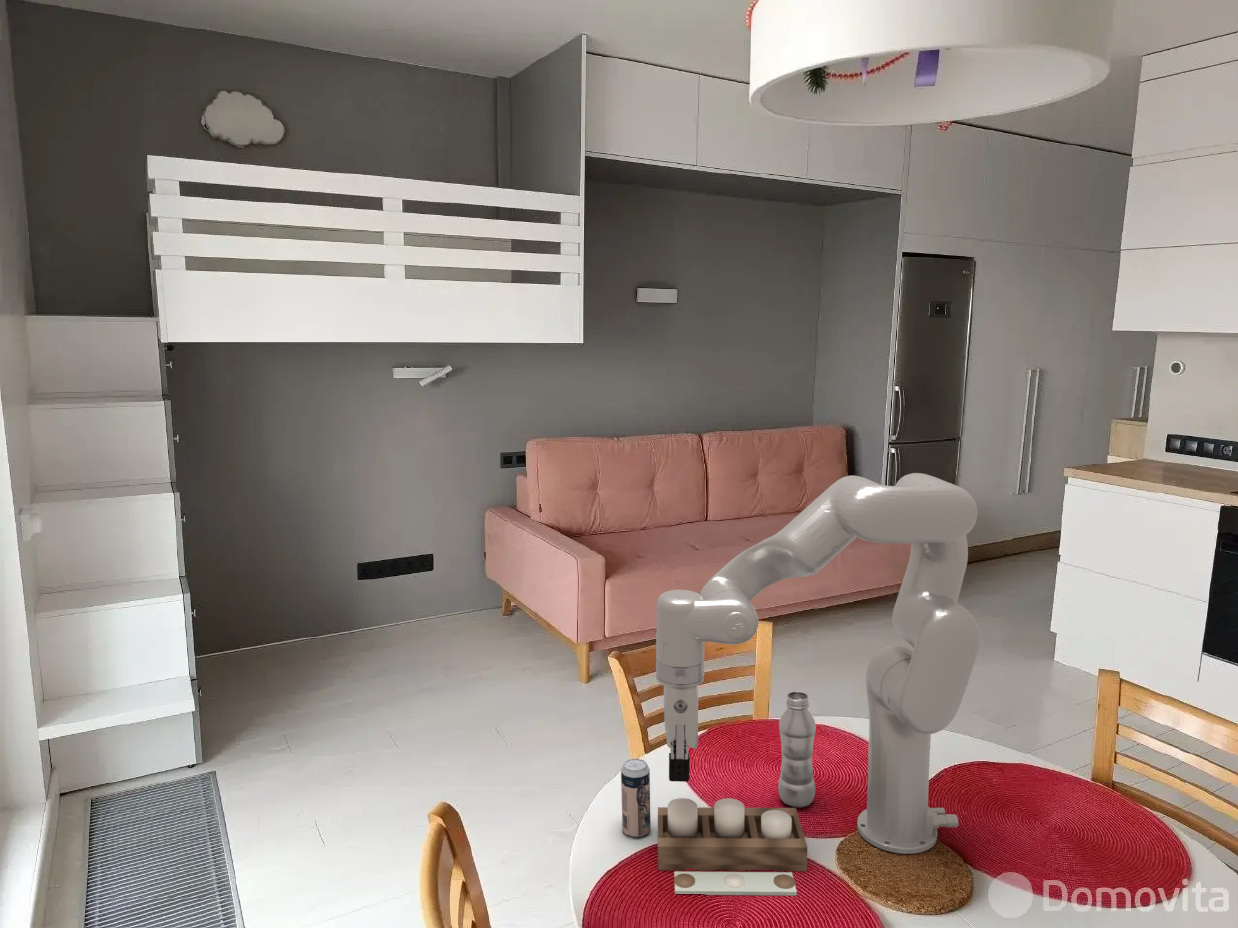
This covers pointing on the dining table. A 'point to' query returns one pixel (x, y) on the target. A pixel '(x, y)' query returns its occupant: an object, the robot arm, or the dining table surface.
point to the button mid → (729, 818)
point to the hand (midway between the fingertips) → (678, 778)
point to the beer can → (635, 797)
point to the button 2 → (776, 825)
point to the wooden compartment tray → (732, 845)
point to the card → (735, 883)
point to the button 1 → (682, 818)
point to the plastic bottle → (797, 752)
